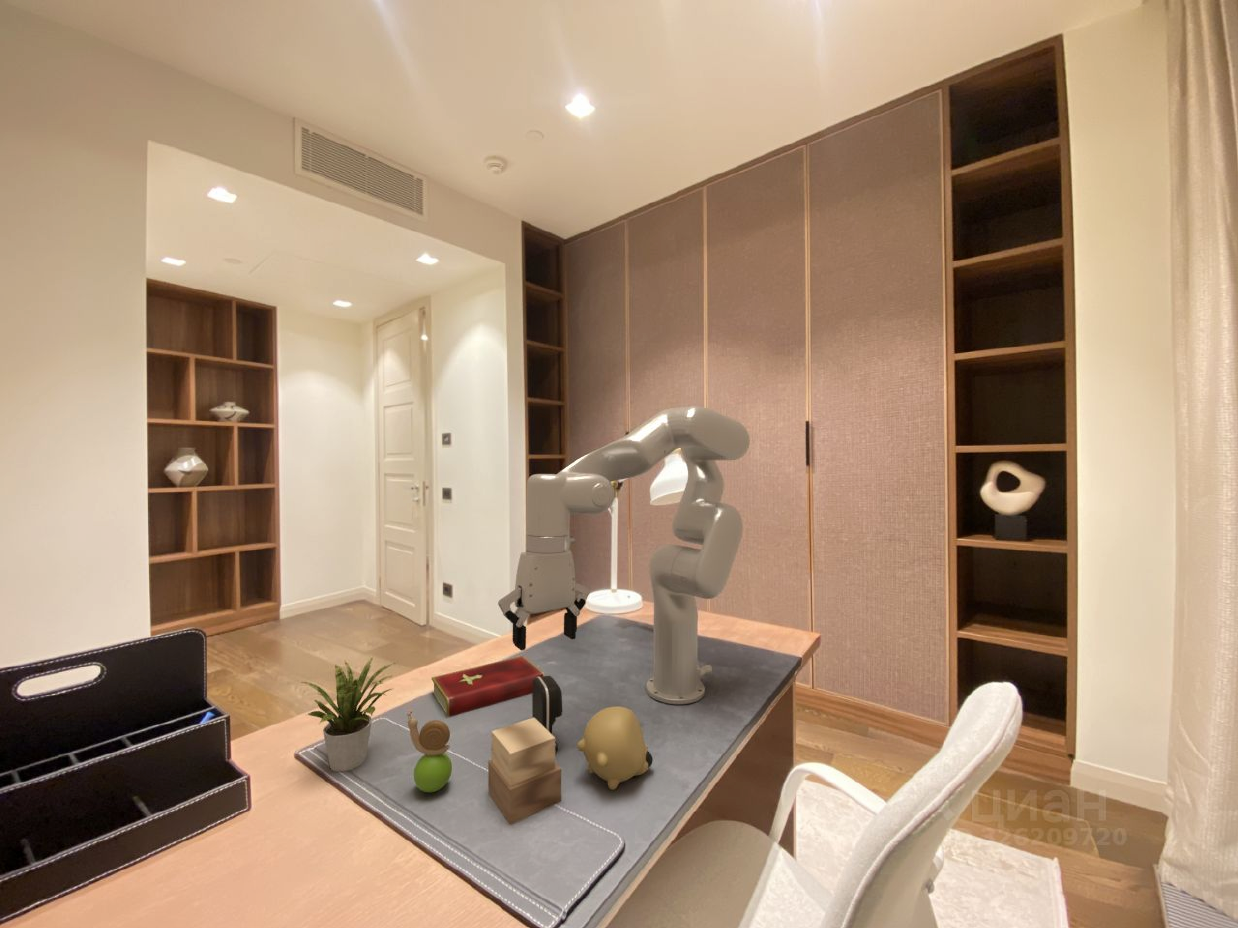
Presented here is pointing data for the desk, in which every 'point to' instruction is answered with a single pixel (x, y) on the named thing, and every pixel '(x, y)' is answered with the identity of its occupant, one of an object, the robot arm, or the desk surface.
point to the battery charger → (546, 702)
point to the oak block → (523, 750)
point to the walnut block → (524, 793)
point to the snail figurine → (431, 754)
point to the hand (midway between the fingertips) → (545, 642)
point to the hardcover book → (485, 685)
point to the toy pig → (615, 746)
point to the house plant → (348, 718)
